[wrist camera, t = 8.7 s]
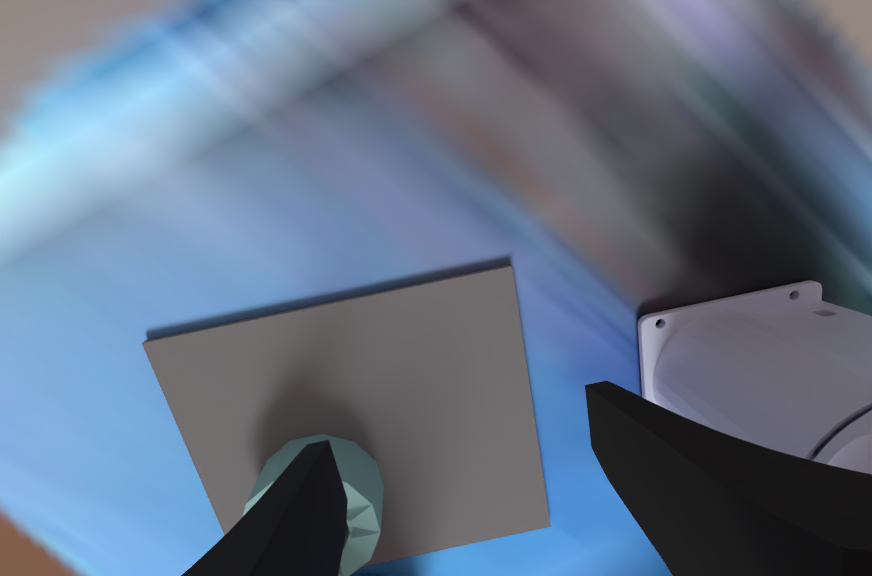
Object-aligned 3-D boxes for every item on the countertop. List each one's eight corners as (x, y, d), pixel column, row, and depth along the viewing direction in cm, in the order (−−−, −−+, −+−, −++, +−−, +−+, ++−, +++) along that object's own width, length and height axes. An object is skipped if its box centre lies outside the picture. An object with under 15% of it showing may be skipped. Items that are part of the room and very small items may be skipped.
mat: (510, 264, 20) (512, 266, 20) (548, 520, 25) (550, 526, 25) (146, 339, 20) (141, 343, 20) (251, 584, 25) (249, 591, 24)
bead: (366, 424, 22) (360, 463, 19) (393, 520, 24) (391, 569, 21) (245, 449, 22) (221, 492, 19) (282, 544, 24) (264, 596, 21)
